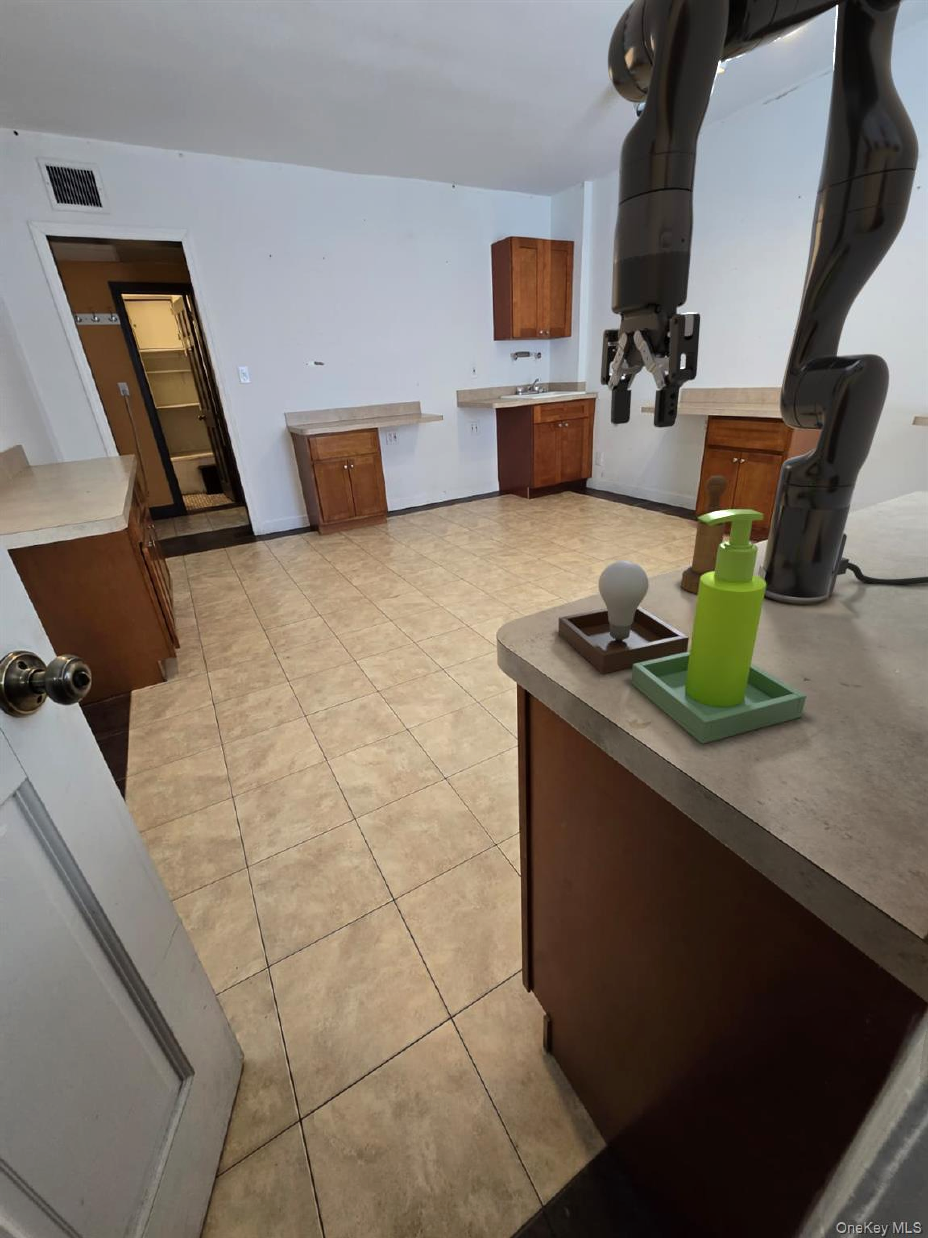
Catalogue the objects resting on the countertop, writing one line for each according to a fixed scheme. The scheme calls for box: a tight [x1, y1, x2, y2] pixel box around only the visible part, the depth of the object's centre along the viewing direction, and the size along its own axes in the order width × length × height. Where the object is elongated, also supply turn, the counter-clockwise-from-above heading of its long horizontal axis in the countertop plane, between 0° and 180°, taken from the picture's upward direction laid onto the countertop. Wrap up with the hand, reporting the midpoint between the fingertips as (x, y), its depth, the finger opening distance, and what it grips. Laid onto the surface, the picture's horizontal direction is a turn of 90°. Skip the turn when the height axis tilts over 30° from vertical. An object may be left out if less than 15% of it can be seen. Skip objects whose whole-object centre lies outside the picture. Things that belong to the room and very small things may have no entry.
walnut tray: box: [558, 605, 690, 675], centre depth 68 cm, size 12×12×3 cm
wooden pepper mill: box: [680, 475, 728, 594], centre depth 81 cm, size 7×6×18 cm
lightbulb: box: [597, 560, 650, 641], centre depth 66 cm, size 6×6×11 cm
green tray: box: [631, 650, 807, 744], centre depth 56 cm, size 12×12×3 cm
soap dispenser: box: [685, 508, 766, 707], centre depth 52 cm, size 6×7×20 cm
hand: (640, 425), depth 59 cm, fingers open, 8 cm apart
